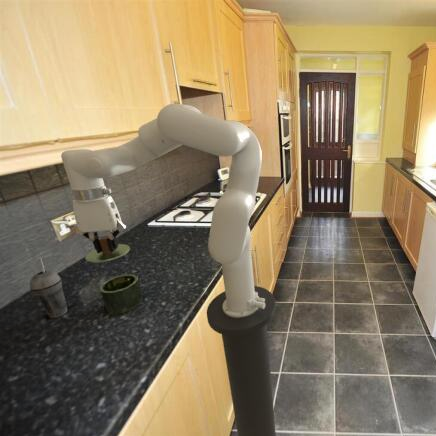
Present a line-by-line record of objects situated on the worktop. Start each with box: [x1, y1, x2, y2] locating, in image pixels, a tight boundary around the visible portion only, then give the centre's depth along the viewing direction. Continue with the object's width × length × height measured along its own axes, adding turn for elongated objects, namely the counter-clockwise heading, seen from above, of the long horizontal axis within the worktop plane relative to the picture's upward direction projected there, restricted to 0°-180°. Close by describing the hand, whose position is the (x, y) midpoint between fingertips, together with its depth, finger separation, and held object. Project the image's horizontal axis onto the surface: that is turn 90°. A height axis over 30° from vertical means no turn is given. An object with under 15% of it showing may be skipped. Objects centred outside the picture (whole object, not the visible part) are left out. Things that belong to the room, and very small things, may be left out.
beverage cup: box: [29, 257, 68, 319], centre depth 84 cm, size 7×7×20 cm
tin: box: [99, 274, 144, 315], centre depth 90 cm, size 10×10×8 cm
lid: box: [84, 235, 131, 264], centre depth 83 cm, size 11×11×6 cm
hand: (107, 250), depth 84 cm, fingers closed on lid, 3 cm apart
